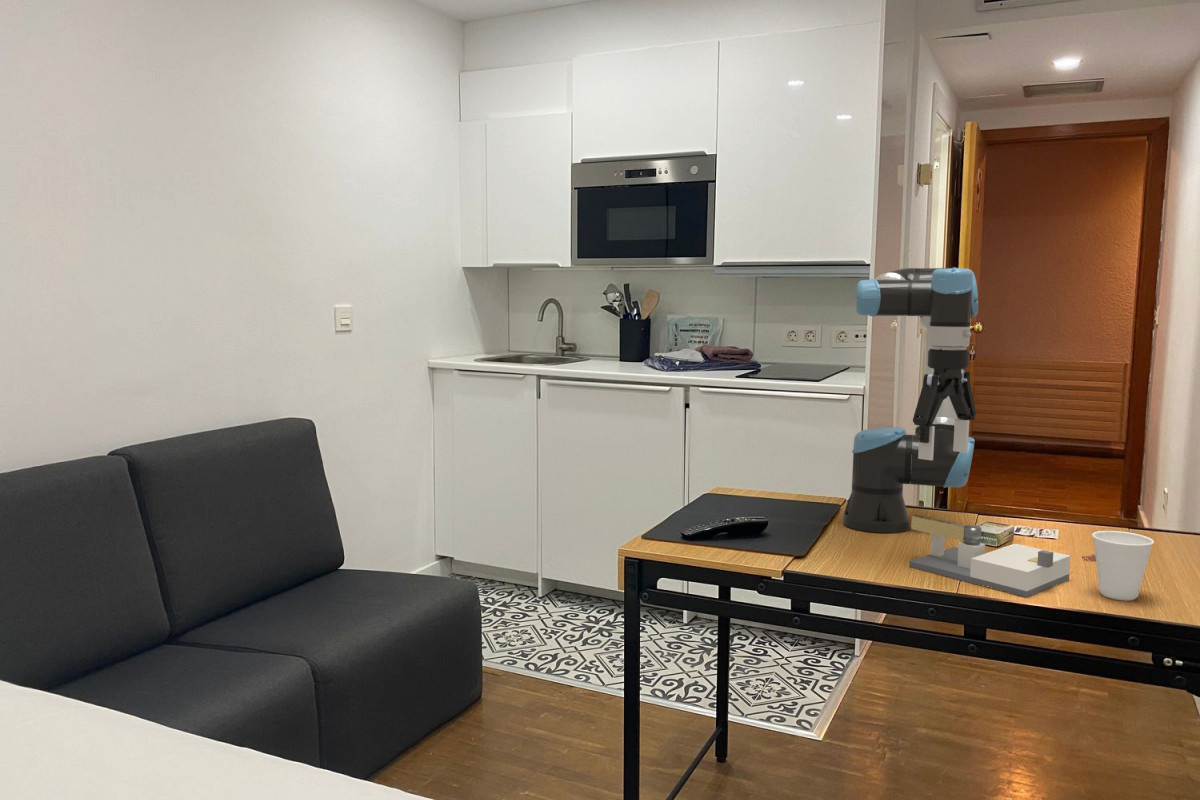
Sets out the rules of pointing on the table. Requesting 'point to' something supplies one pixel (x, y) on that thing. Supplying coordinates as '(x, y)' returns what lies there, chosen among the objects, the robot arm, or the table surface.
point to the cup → (1121, 562)
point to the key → (1090, 558)
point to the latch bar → (947, 529)
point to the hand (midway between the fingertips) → (943, 455)
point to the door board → (964, 573)
